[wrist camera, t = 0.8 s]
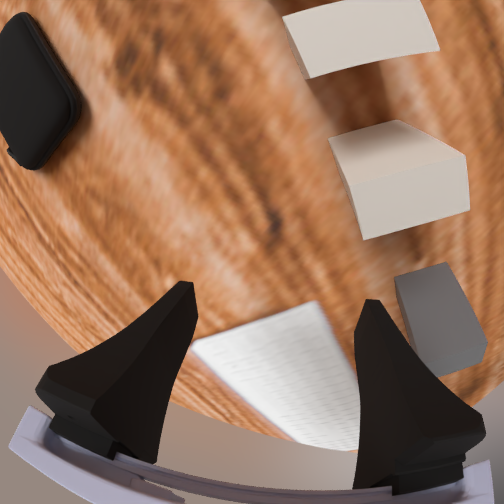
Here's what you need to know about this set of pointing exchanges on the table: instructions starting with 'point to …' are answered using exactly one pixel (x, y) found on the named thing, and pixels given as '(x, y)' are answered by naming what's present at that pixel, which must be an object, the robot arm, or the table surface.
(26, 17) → the carrying case or bag
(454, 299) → the domino
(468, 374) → the table surface
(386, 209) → the domino
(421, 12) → the domino
